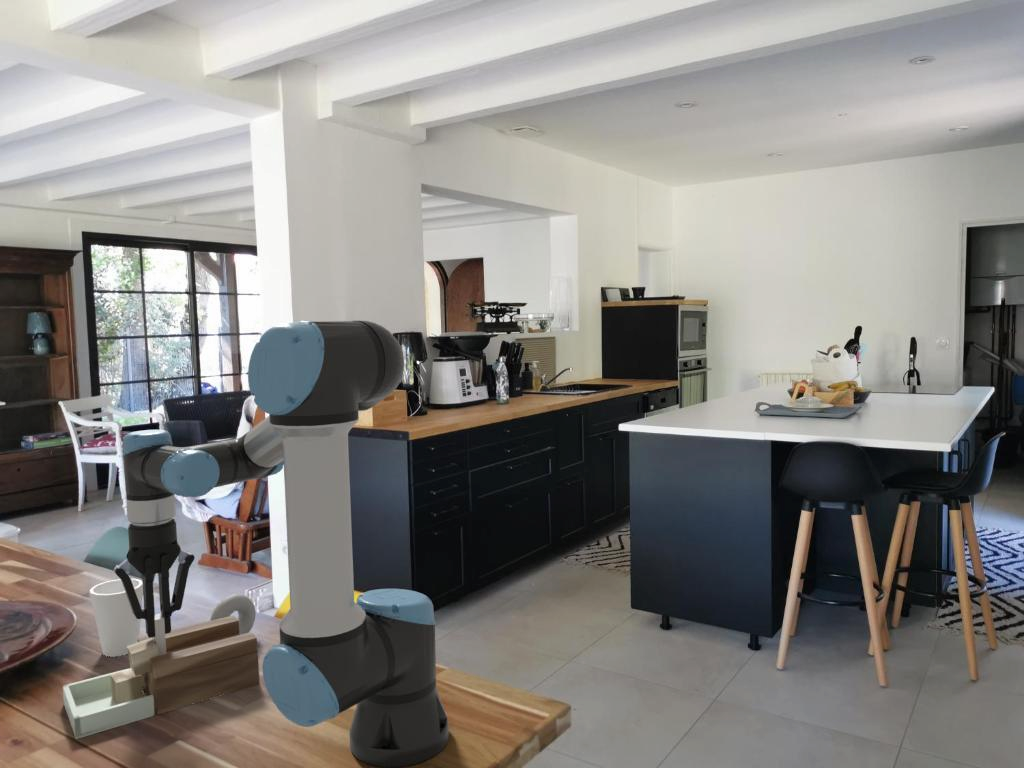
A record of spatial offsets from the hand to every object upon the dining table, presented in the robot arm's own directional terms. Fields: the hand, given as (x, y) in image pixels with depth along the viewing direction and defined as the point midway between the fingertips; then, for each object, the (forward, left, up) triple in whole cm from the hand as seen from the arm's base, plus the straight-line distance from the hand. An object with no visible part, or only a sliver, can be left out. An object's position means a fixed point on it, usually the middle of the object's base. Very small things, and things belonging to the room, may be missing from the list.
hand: (160, 652), depth 135 cm
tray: (0, +9, -8) cm, 11 cm away
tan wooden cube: (+1, +3, -5) cm, 6 cm away
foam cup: (+25, +2, -8) cm, 26 cm away
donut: (+14, -17, -8) cm, 23 cm away
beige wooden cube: (-1, +3, -2) cm, 3 cm away
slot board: (0, -6, -8) cm, 10 cm away
